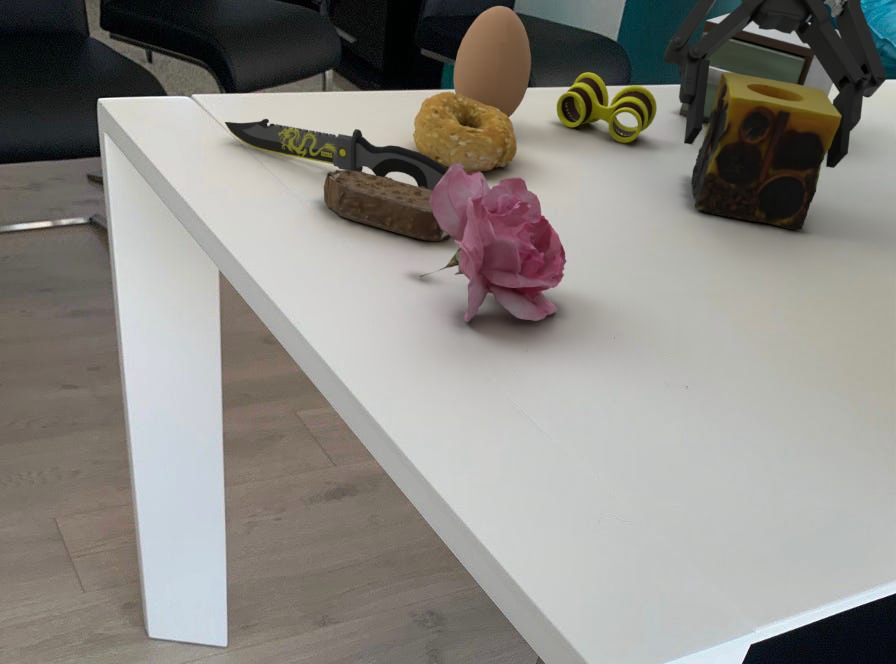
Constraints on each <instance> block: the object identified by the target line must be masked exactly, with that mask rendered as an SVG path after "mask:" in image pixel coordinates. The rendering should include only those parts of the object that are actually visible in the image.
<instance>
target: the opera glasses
mask: <svg viewBox="0 0 896 664" xmlns="http://www.w3.org/2000/svg"><path fill="white" fill-rule="evenodd" d="M623 113H628V114H630V115H632V116H633V117H634V119H635V120H636V122H637V126H633V127H632V126H630V127H629V126H626V125H624V124H622V123H621V122H620V121H619V120H618V117H617V116H618V115H620V114H623ZM556 114H557V117H558V120H559V121H560V122H561V123H562V124H563V125H564V126H565V127H568V128H576V127H578V126H580V125H584V124H594V123H597V122H599V121H600V120H601V121H603V122H606V123H607V124H608V131H609V134H610V136H611V137H612V138H613V139H614V140H615V141H616V142H619V143H621V144H627V143H631V142H633V141H635V140H636V139H637V138H638V137H639V135H640V134H641V132H643V131H645V130H646V129H647V128H649V127H650V126H651V124H652V123H653V122H654V119H655V118H656V114H657V101H656V99H655V96H654V94H653V93H652V92H651V91H650V90H649V89H647V88H646V87H644V86H641V85H629V86H626V87H623V88H621V90H619V91H618V92H617V93H616V94H615V95H614V96H613V98H612V100H611V102H610V106H609V92H608V88H607V86H606V84H605V82H604V81H603V79H602V78H601V76H599V75H598V74H596V73H593V72H590V71H589V72H587V71H586V72H583V73H581V74H579V76H577V78H576V79H575V81H574V82H573V84H572V85H571V86H570V87H569V88H568V90H567V91H566V92H565V93H563V94H561V95H560V97H559V98H558V99H557V103H556Z"/></svg>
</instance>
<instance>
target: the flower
mask: <svg viewBox="0 0 896 664" xmlns="http://www.w3.org/2000/svg"><path fill="white" fill-rule="evenodd" d="M429 203H430V205H431V208H432V211H433V215H434V216H435V218H436V220H437V222H438V224H439V227H440V229H441V230H443V231H444V232H446V233H447V234H449V235H450V237H452V238H453V239H454V243H455V244H456V245H457V246H458V247H459V248H458V249H457V250H456V252H455V253H454V255H453V256H452V257H451V258H450V260H449V261H448V263H447V264H446V266H444V267H442V268H440V269H438V270H437V271H433V272H428V273H425V274H421V275H419V278H422V277H425V276H428V275H431V274H434V273H436V272H439V271H441V270H444V269H448V268H449V269H450V268H453V267H457V266H458V267H457V268H458V271H457V272H455V273H454V275H455V276H457V275H464V276H465V277H466V278H467V279H468V280H469V281H468V283H467V285H466V286H467V309H466V311H465V313H464V316H463V320H464V322H465V323H467V324H468V323H469V322H470V321H471V320H472V319H473V318H474V317H475V315H476V314H478V312H479V309H480V307H481V306H482V305H483V304H484V301H485V300H486V297H487V295H488V294H492V295H493V297H494V299H495V300H496V301H497V302H498V303H499V304H500V305H501V306H502V307H503V308H504V309H505V310H506V311H508V312H509V313H510V314H511V315H512V316H514V317H515V318H517V319H521V320H525V321H526V320H528V321H533V322H537V321H541V320H545V319H546V317H547V315H548V316H550V315H552V314H554V313H556V312H557V311H558V309H557V307H556V306H555V305H554V303H553V302H551V301H550V300H549V299H548V298H546V297H547V296H545V295H544V293H543V292H544V291H547V290H549V289H554V288H556V287H558V286H559V283H561V282H562V280H563V278H564V276H565V274H564V273H563V271H565V269H566V268H565V264H566V263H567V262H568V261H567V259H566V251H565V249H564V246H563V244H562V242H561V239H560V236H559V233H558V232H557V231H556V230H555V229H554V227H552V225H551V223H550V222H549V220H548V219H546V217H545V215H542V207H541V202H540V200H539V197H538V195H537V194H536V193H534V192H533V191H531V190H529V189H528V187H527V183H526V180H524V179H523V178H521V176H519V177H508V178H502V179H500V180H499V182H498V183H497V184H496V185H493V186H492V187H490V186H489V182H488V181H487V178H486V177H485V175H484V174H483V172H480V171H476V172H473V171H472V172H469V173H466V172H465V171H464V170H463V169H462V165H461V163H453V164H451V165H450V167H449V168H448V170H447V172H446V173H445V175H444V176H443V177H442V179H441V180H440V181H439V183H438V184H437V185H436V186H435V188H434V190H433V192H432V194H431V197H430V200H429Z"/></svg>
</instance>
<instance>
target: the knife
mask: <svg viewBox="0 0 896 664" xmlns="http://www.w3.org/2000/svg"><path fill="white" fill-rule="evenodd" d="M224 124H225V126H226V128H227V129H228V130H229V132H230V133H231V134H232V135H233V136H234V137H236V138H237V139H238V140H239V141H241V142H243V143H244V144H246V145H248V146H250V147H252V148H254V149H258V150H260V151H264V152H269V153H273V154H279V155H283V156H288V157H293V158H299V159H303V160H307V161H315V162H319V163H325V164H329V165H333V167H337V168H338V170H349V171H357V172H363V169H364V168H365V167H366V168H367V169H369V170H371V171H372V173H373V175H376V176H380V177H387V175H388V174H391V173H402V174H405V175H408V176H410V177H411V178H412V179H414V181H415V183H416V184H417V185H416V186H418V187H421V186H424V187H425V188H426V189H428V190H432V191H433V190H434V188H435V186H436V185H437V184H438V183H439V181H440V180H441V179H442V177H443V176H444V175H445V173H446V172H447V170H448V169H449V168H448V167H446V166H444V165H442V164H440V163H438V162H436V161H435V160H433V159H431V158H429V157H428V156H426V155H423V154H421V153H420V152H418V151H416V150H412V149H410V148H409V149H408V148H405V147H402V146H400V145H391V144H390V145H384V146H376V145H374V144H372V143H370V141H369V140H367V139H366V138H365V137H364V136H363V134H362V131H361V130H360V129H359V128H355V129H354V130H353V132H352V135H347V134H341V133H338V135H336V134H333V133H329V132H328V133H327V132H321V131H318V130H317V131H315V130H311V129H306V128H300V127H295V126H289V125H282V124H277V123H276V124H275V123H270V120H269V119H268V118H263V119H262V120H259V121H252V122H251V121H249V122H232V121H224Z"/></svg>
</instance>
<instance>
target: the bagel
mask: <svg viewBox="0 0 896 664" xmlns="http://www.w3.org/2000/svg"><path fill="white" fill-rule="evenodd" d="M413 125H414V133H412V137H413V142H414V144H415V145H416V149H417V150H418V151H419V152H418V153H421V154H423V155H426V156H428V157H429V158H431V159H433V160H435V161H436V162H438V163H440V164H441V165H443V166H444V167H446V168H448V169H449V167H450V165H451V164H453V163H461V165H462V169H463V170H464V171H465V172H466V173H470V172H476V171H480V172H481V173H483V172H487V171H492V170H493V169H494V168H504V167H506V165H508V163H509V162H512V161H513V159H514V157H515V156H516V154H517V151H518V148H517V147H518V146H517V145H518V143H517V138H516V136H515V133H514V126H513V122H512V120H511V119H510V117H509V118H508V116H507V115H506V114H505V113H502V112H501V111H500V110H499V109H497V108H495V107H493V106H487V105H485V104H483V103H481V102H478V101H475V100H472V99H470V98H468V97H466V96H463V95H460V94H455V91H454V92H453V91H443V92H440V93H436V94H434V95H432V96H431V97H426V98H425V99H424V100H423V101H422V102H421V106H420V109H419V111H418V112H417V113H416V115H415V118H414V121H413Z"/></svg>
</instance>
